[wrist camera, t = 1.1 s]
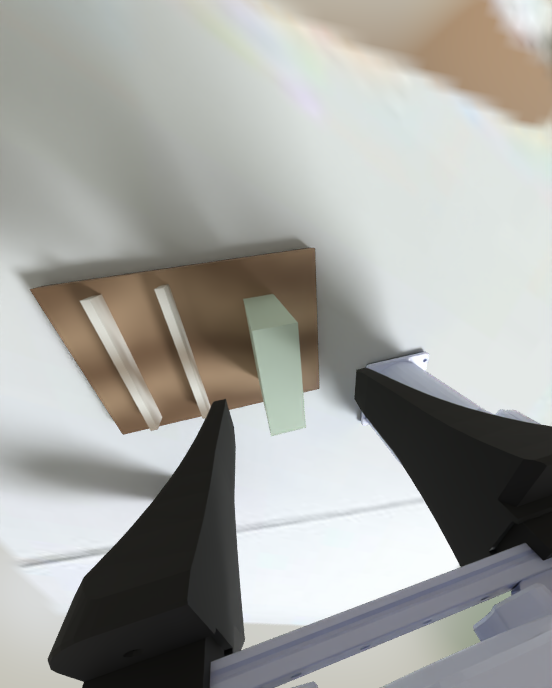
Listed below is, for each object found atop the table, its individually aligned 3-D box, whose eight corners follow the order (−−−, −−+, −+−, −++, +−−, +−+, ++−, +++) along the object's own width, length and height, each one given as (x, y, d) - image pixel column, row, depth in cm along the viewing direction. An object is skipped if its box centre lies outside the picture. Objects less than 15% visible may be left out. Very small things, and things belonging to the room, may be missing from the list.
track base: (315, 382, 24) (324, 397, 22) (127, 425, 22) (115, 447, 19) (309, 247, 18) (322, 248, 15) (43, 285, 15) (9, 294, 13)
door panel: (283, 373, 21) (305, 427, 15) (258, 378, 21) (271, 436, 15) (273, 293, 18) (297, 322, 11) (243, 298, 17) (251, 331, 11)
